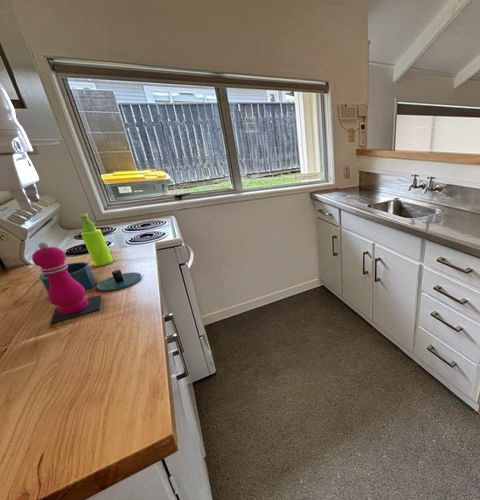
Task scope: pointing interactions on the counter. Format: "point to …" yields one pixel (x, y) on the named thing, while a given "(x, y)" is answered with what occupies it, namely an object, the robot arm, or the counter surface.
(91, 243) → the soap dispenser
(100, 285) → the lid
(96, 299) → the mat
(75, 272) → the pot
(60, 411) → the counter surface
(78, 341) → the counter surface
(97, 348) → the counter surface
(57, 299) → the pepper mill
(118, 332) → the counter surface
